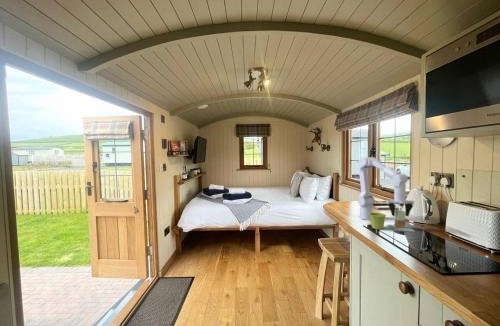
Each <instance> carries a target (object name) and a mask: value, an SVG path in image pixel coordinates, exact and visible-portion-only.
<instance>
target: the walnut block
mask: <svg viewBox="0 0 500 326" xmlns="http://www.w3.org/2000/svg"><path fill="white" fill-rule="evenodd" d="M394 225H395V227H397V228H405V225H406V219H405V220H397V219H395V218H394Z"/></svg>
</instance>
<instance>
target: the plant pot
mask: <svg viewBox="0 0 500 326" xmlns="http://www.w3.org/2000/svg"><path fill="white" fill-rule="evenodd" d="M369 215H370V218H371V220H370V222H371V223H370V224H371V227H372V229H375V230H384V225H385V219H386V217H387V214H385V213H381V212H372V213H369Z"/></svg>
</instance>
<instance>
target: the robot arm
mask: <svg viewBox="0 0 500 326" xmlns="http://www.w3.org/2000/svg"><path fill="white" fill-rule="evenodd" d="M373 167H375V168H377V169H379V170H380V171H381V172H383V174H384V176H386V177H388V178H389V179H391V181H392V183H393V186H394V187H393V189H394V197H393V198H394V199H390V200H388V199H386V201H385V202H386V204H387V206H388V207H389V210H390V213H391V216H393V217H395V209H396V208H395V207H396V205H404V209H405V211H404V212H405V217H409V215H410V212H411V211H412V209H413V207H414V205H415V201H414V200H406V198H407V197H406V196H407V195H406V194H407V192H406V191H407V189H406V188H407V187H406V183H407V182H408V180H409V178H408V176H407V175H406V174H405V173H401V172H400V171H398V170H396V169H395V168H394V167H392V166H386V165H385V164H383V163H382V162H381V161H380V160H378V158H376V157H373V156H371V157H370V156H369V157H366V156H365V157H364V156H363V157H361V158H360V159H359V160H358V175H359V184H360V194H359V195H358V199H357V202H358V204H359V206H360V207H359V215H358V217H359V218H360V219H361V220H365V221H366V220H367V221H371V218H370V215H369V213H373V206H374V204H375V200H376V199H375V198H374V195H373V194H372V193H371V191H370V190H371V189H370V181H369V173H368V172H369V170H370V168H373Z"/></svg>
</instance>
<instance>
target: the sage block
mask: <svg viewBox="0 0 500 326" xmlns="http://www.w3.org/2000/svg"><path fill="white" fill-rule="evenodd" d="M395 219H397V220H405V221H406V214H405V211H404V210H400V209H399V210H395V216H394V220H395Z"/></svg>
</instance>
